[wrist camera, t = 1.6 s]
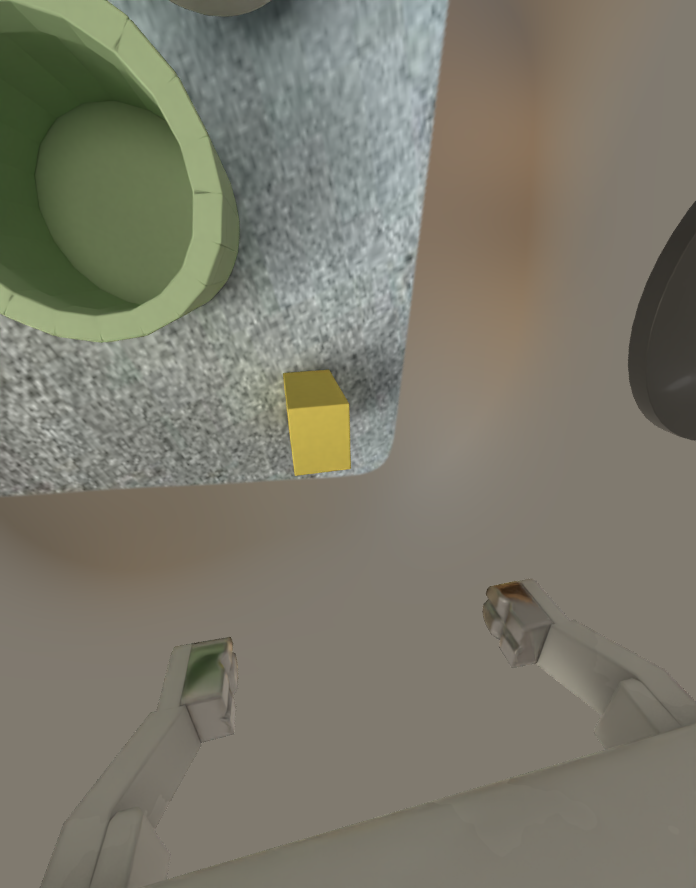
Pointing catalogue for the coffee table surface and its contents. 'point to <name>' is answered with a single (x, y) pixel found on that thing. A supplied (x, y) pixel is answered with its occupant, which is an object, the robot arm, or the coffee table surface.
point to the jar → (103, 178)
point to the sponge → (317, 422)
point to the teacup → (221, 6)
